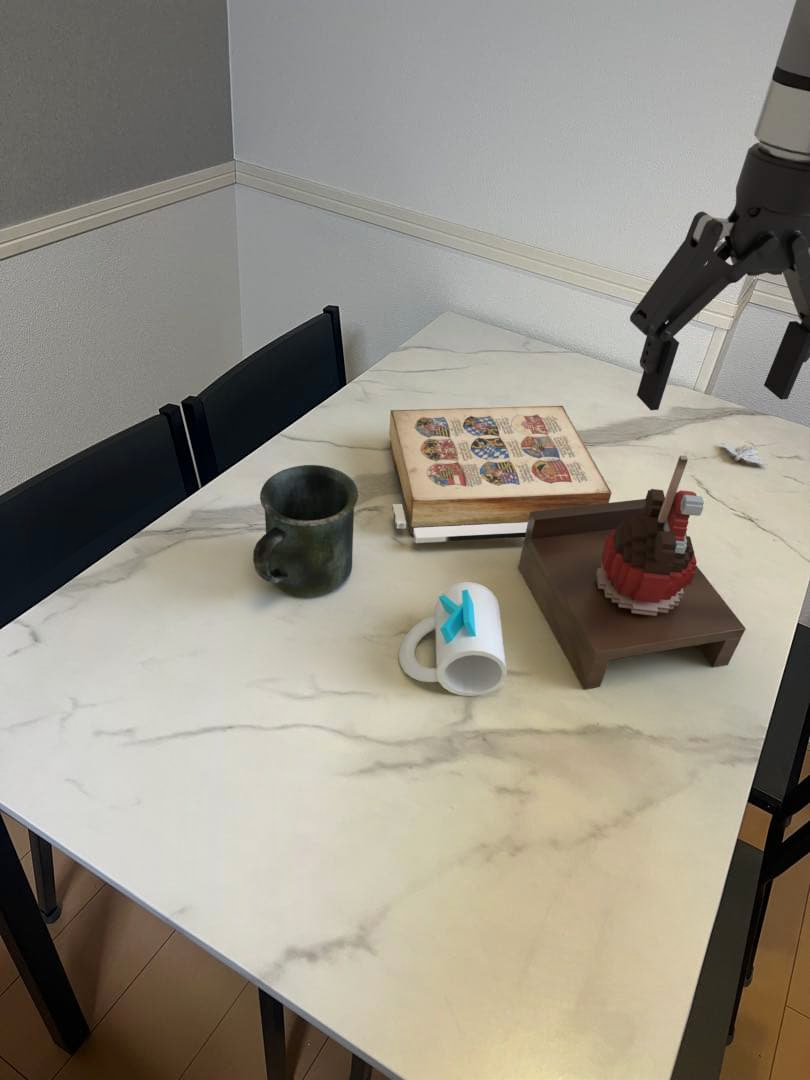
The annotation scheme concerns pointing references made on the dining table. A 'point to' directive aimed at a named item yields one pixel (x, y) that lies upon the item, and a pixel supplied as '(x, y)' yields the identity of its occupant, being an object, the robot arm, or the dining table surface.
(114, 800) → the dining table surface
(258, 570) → the mug
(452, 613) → the mug
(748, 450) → the flower
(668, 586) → the cake
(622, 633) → the shelf
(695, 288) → the robot arm
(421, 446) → the book
